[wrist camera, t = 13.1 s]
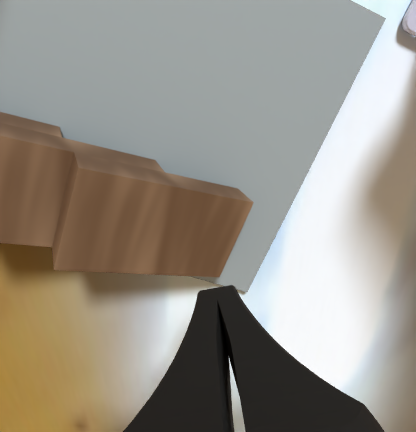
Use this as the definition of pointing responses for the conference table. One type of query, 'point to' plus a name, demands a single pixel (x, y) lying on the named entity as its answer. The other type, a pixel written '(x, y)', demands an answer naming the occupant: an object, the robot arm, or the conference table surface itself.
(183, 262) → the domino
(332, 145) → the conference table surface
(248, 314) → the robot arm
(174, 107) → the slate mat
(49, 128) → the domino
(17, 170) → the domino
